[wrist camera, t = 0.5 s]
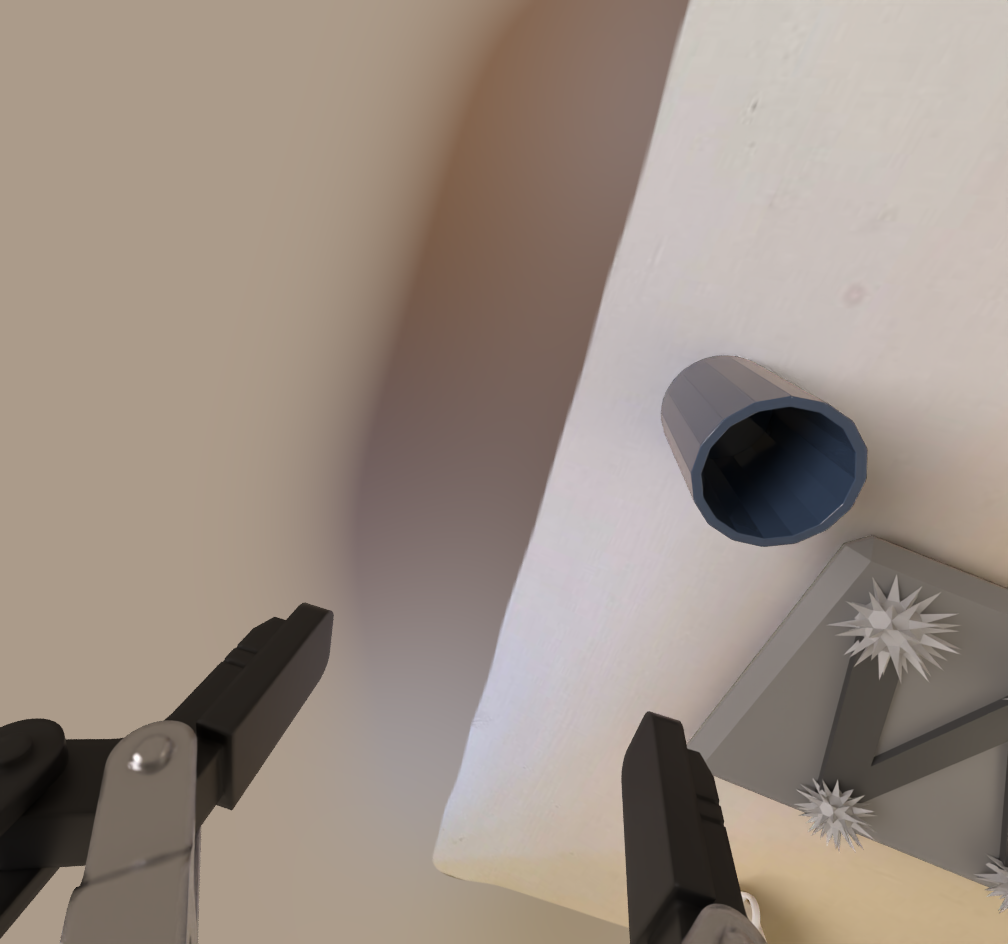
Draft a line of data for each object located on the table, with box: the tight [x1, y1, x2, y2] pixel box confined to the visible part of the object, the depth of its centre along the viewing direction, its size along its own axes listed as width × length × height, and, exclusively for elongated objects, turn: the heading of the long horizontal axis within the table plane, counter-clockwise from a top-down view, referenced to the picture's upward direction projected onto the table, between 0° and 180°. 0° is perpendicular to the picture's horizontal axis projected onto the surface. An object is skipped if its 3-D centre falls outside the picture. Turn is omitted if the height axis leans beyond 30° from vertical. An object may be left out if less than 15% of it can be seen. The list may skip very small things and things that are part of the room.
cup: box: [661, 356, 867, 547], centre depth 23 cm, size 6×6×10 cm
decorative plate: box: [687, 535, 1008, 913], centre depth 30 cm, size 30×22×7 cm
